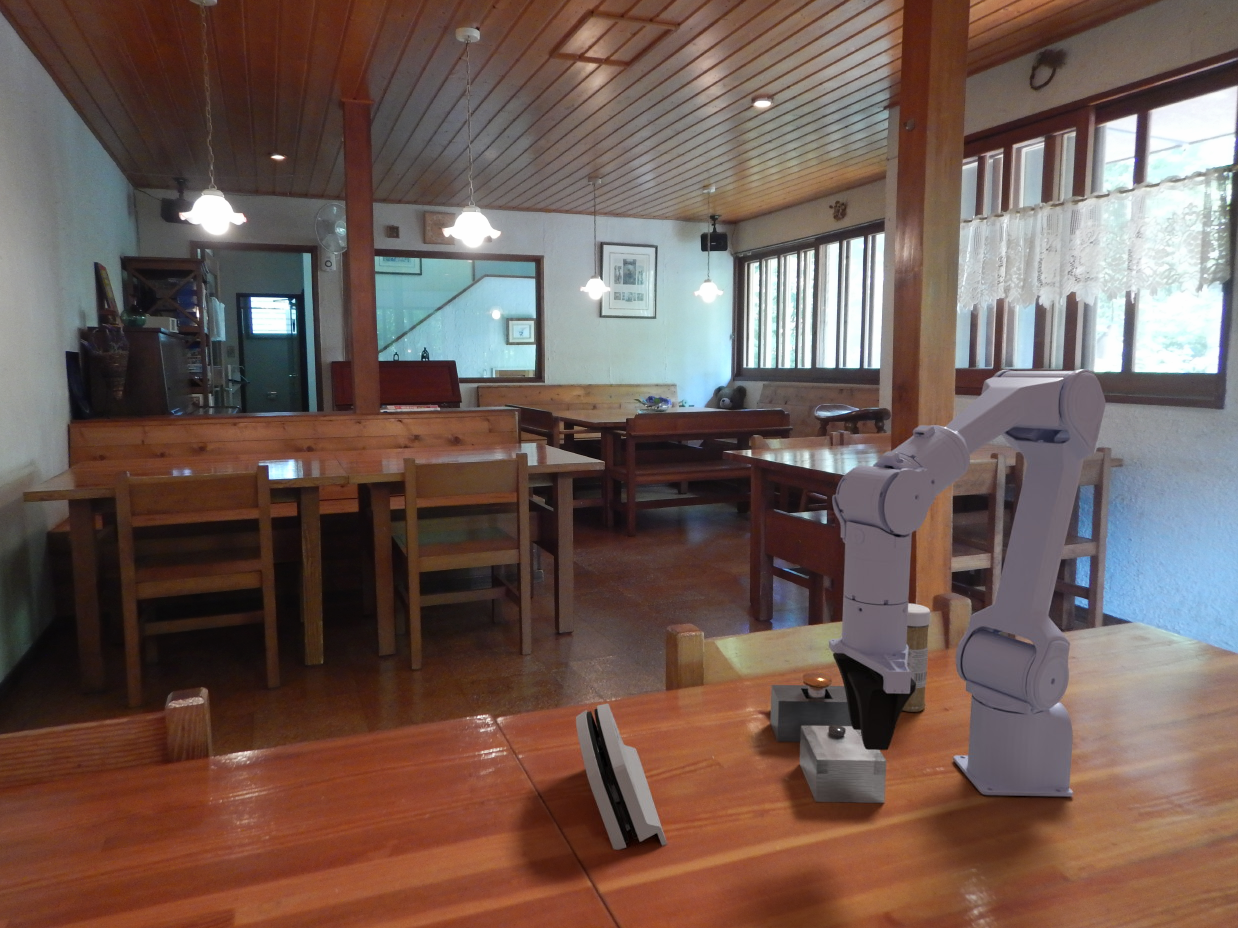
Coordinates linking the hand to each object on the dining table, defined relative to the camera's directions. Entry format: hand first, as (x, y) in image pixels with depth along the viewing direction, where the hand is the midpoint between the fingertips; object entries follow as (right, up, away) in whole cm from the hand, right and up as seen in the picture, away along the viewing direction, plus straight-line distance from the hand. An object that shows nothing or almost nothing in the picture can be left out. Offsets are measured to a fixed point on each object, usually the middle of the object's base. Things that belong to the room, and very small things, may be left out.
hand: (869, 737), depth 75 cm
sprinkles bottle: (+15, -7, +31) cm, 34 cm away
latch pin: (0, -4, +22) cm, 22 cm away
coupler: (0, -7, +23) cm, 24 cm away
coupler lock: (0, -8, +10) cm, 13 cm away
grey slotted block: (-24, -9, +6) cm, 26 cm away
